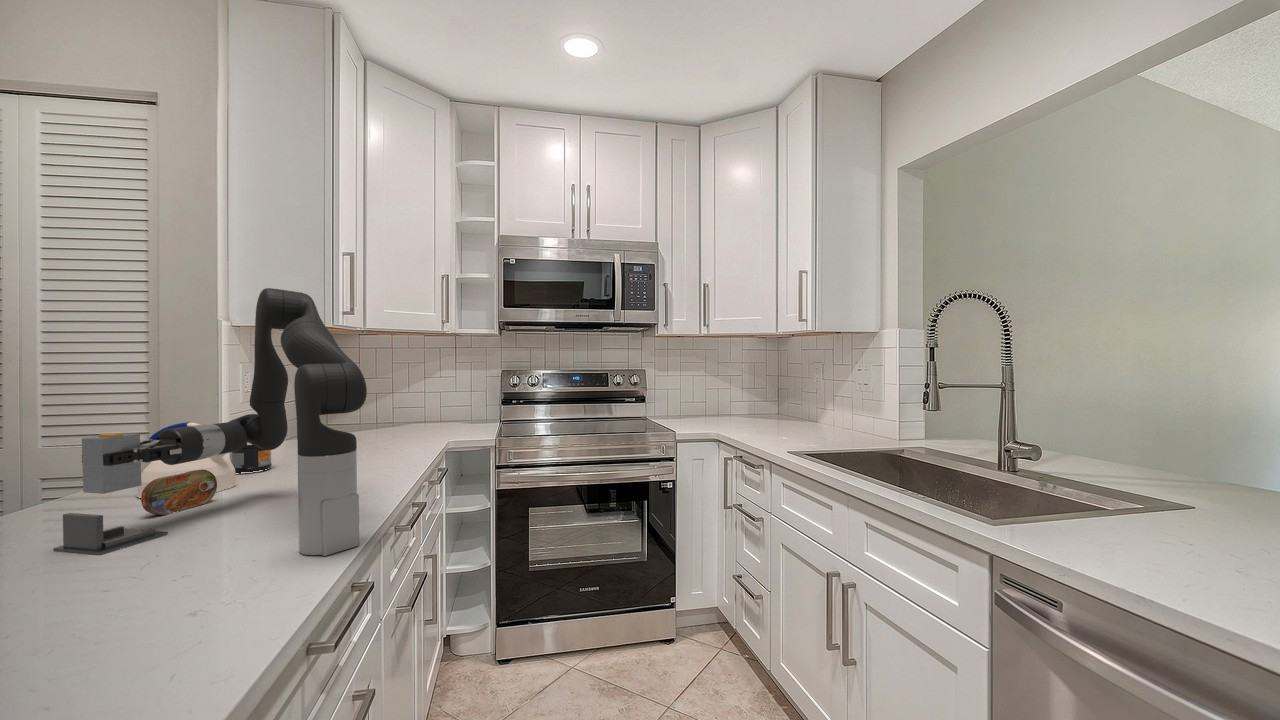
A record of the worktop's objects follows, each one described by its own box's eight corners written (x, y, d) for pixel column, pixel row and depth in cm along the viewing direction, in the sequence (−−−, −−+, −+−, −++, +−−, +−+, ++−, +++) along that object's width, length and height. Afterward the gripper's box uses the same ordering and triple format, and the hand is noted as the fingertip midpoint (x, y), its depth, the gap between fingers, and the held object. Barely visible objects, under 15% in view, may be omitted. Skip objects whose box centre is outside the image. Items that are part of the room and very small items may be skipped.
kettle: (195, 500, 129) (194, 426, 129) (111, 501, 129) (110, 427, 129) (256, 481, 149) (256, 417, 149) (184, 481, 149) (183, 418, 149)
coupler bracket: (125, 530, 106) (124, 498, 106) (167, 534, 103) (167, 501, 103) (53, 550, 95) (53, 514, 95) (99, 555, 93) (99, 518, 93)
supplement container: (280, 467, 167) (279, 429, 167) (252, 475, 156) (252, 434, 156) (249, 467, 168) (249, 429, 168) (220, 474, 157) (219, 434, 157)
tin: (149, 519, 113) (149, 480, 113) (138, 519, 114) (137, 480, 114) (218, 500, 128) (218, 466, 128) (208, 500, 129) (207, 466, 129)
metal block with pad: (121, 484, 103) (120, 431, 102) (141, 485, 102) (139, 431, 101) (83, 492, 97) (81, 436, 97) (103, 493, 96) (102, 436, 96)
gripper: (165, 425, 115) (65, 438, 98) (218, 426, 111) (123, 440, 95) (166, 459, 115) (66, 478, 98) (218, 462, 112) (124, 481, 95)
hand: (95, 459), depth 97 cm, fingers closed on metal block with pad, 5 cm apart
